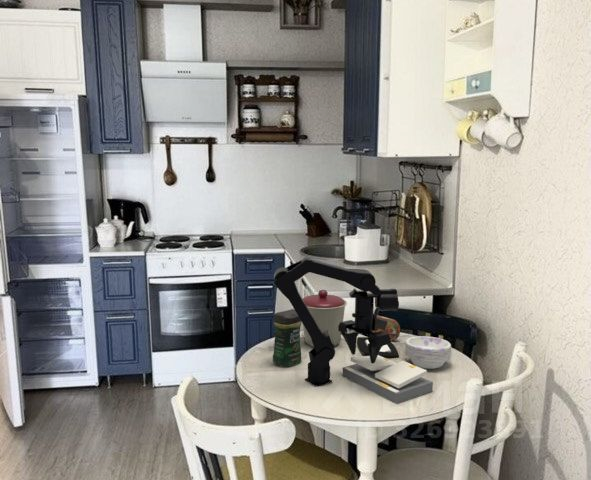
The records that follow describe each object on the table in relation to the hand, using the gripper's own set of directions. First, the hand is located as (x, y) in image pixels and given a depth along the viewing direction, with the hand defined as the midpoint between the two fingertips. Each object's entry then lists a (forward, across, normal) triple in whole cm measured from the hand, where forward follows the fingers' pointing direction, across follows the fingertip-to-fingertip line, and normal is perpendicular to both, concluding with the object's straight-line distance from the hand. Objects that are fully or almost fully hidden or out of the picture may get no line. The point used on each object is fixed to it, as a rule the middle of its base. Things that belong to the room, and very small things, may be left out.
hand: (363, 358), depth 174 cm
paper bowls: (+8, -2, -28) cm, 29 cm away
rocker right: (+2, -12, -5) cm, 13 cm away
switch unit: (+7, -6, -5) cm, 10 cm away
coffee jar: (+8, +26, +11) cm, 30 cm away
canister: (+8, +35, -11) cm, 38 cm away
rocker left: (+2, 0, -5) cm, 6 cm away
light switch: (+8, +19, -24) cm, 32 cm away
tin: (+8, +28, -35) cm, 46 cm away
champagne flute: (+8, +39, +4) cm, 40 cm away
